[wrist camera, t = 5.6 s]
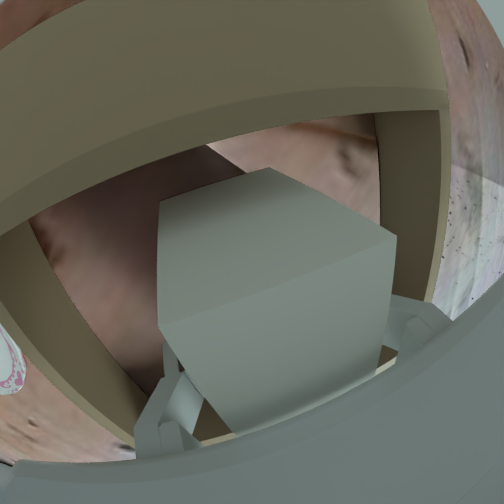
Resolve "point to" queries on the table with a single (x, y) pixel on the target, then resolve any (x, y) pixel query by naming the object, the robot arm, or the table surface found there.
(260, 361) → the box
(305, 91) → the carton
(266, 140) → the table surface
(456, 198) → the table surface
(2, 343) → the teacup
